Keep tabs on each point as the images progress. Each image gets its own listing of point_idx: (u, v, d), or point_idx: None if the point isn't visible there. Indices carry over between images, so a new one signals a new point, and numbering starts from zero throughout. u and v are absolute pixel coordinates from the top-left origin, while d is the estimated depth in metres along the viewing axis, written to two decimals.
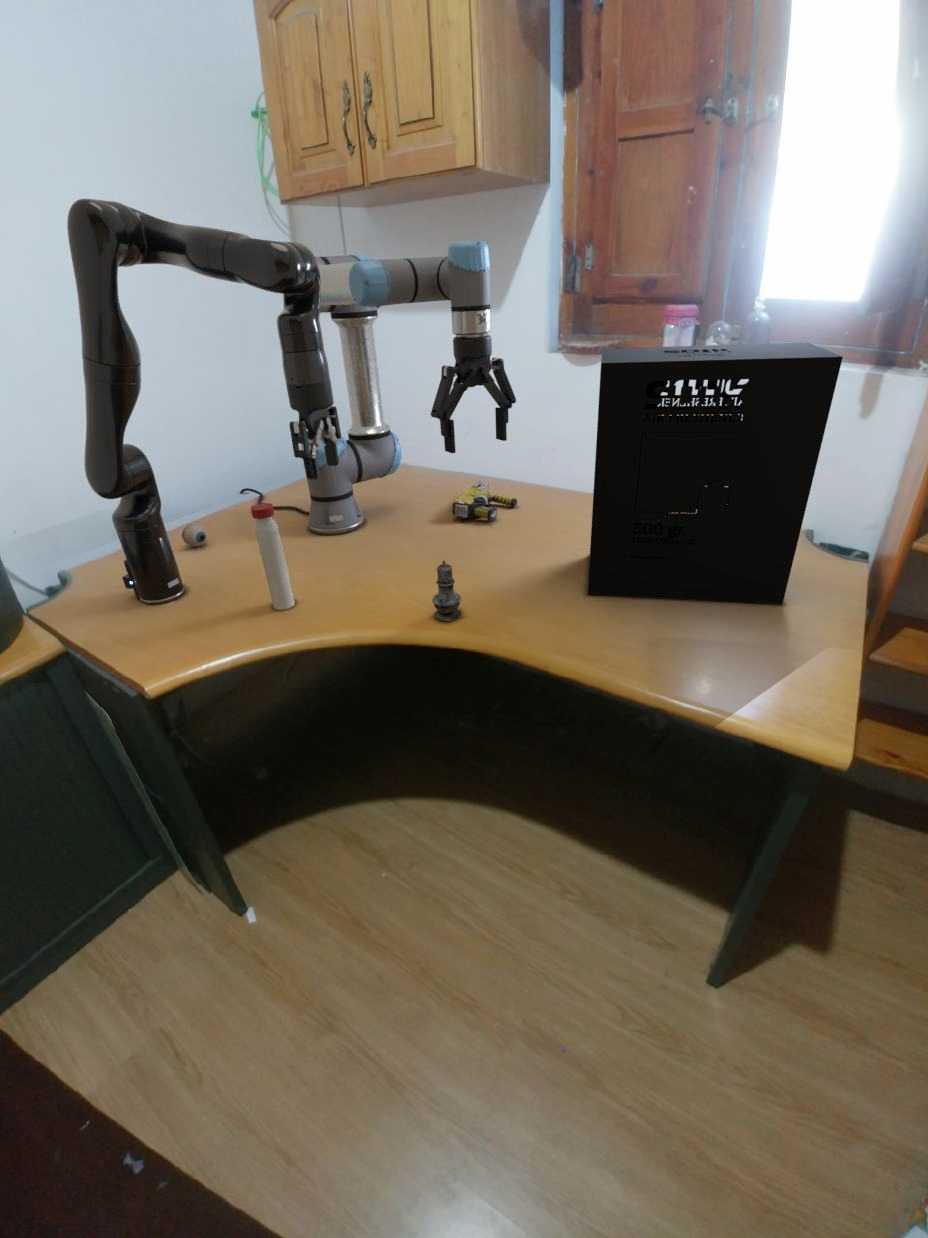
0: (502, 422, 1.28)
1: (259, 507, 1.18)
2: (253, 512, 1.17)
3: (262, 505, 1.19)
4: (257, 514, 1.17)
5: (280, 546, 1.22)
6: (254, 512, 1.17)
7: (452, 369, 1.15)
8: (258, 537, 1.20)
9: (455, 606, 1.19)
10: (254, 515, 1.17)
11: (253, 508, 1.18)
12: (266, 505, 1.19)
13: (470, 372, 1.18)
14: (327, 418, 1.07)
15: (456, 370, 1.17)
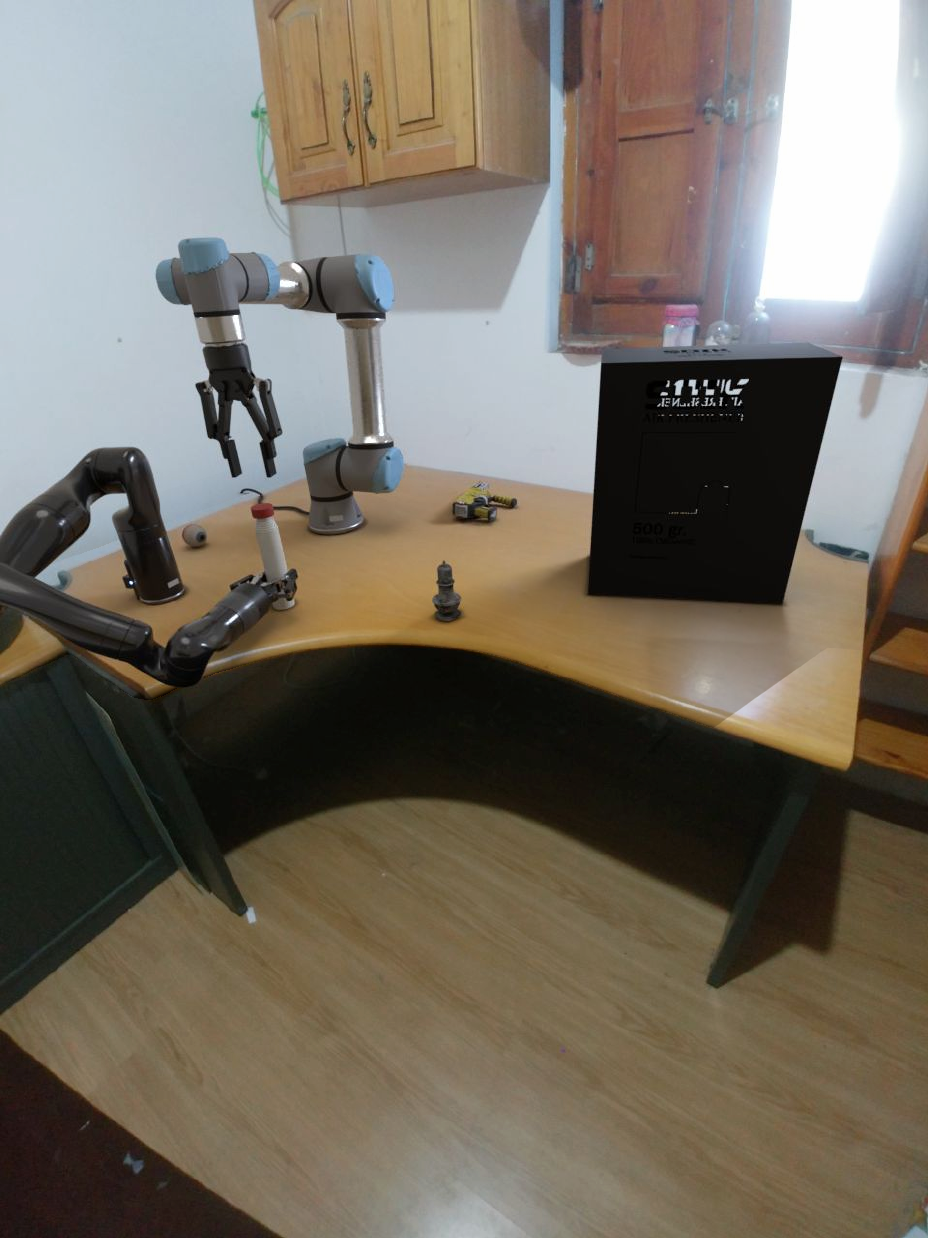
0: (236, 454, 1.15)
1: (259, 507, 1.18)
2: (253, 512, 1.17)
3: (262, 505, 1.19)
4: (257, 514, 1.17)
5: (280, 546, 1.22)
6: (254, 512, 1.17)
7: None
8: (258, 537, 1.20)
9: (455, 606, 1.19)
10: (254, 515, 1.17)
11: (253, 508, 1.18)
12: (266, 505, 1.19)
13: None
14: None
15: None
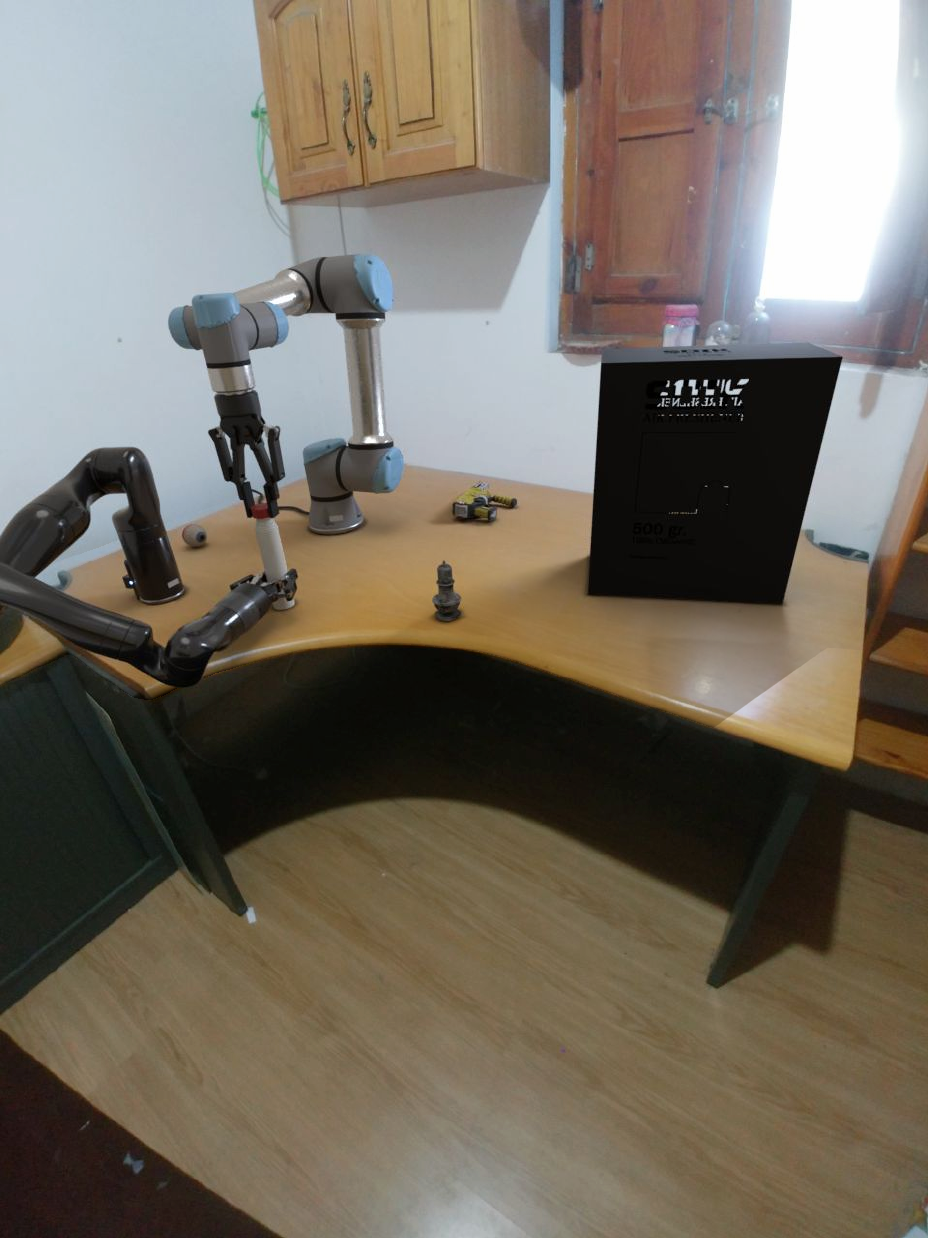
0: (252, 495, 1.19)
1: (259, 507, 1.18)
2: (253, 512, 1.17)
3: (262, 505, 1.19)
4: (257, 514, 1.17)
5: (280, 546, 1.22)
6: (254, 512, 1.17)
7: None
8: (258, 537, 1.20)
9: (455, 606, 1.19)
10: (254, 515, 1.17)
11: (253, 508, 1.18)
12: (266, 505, 1.19)
13: None
14: None
15: None
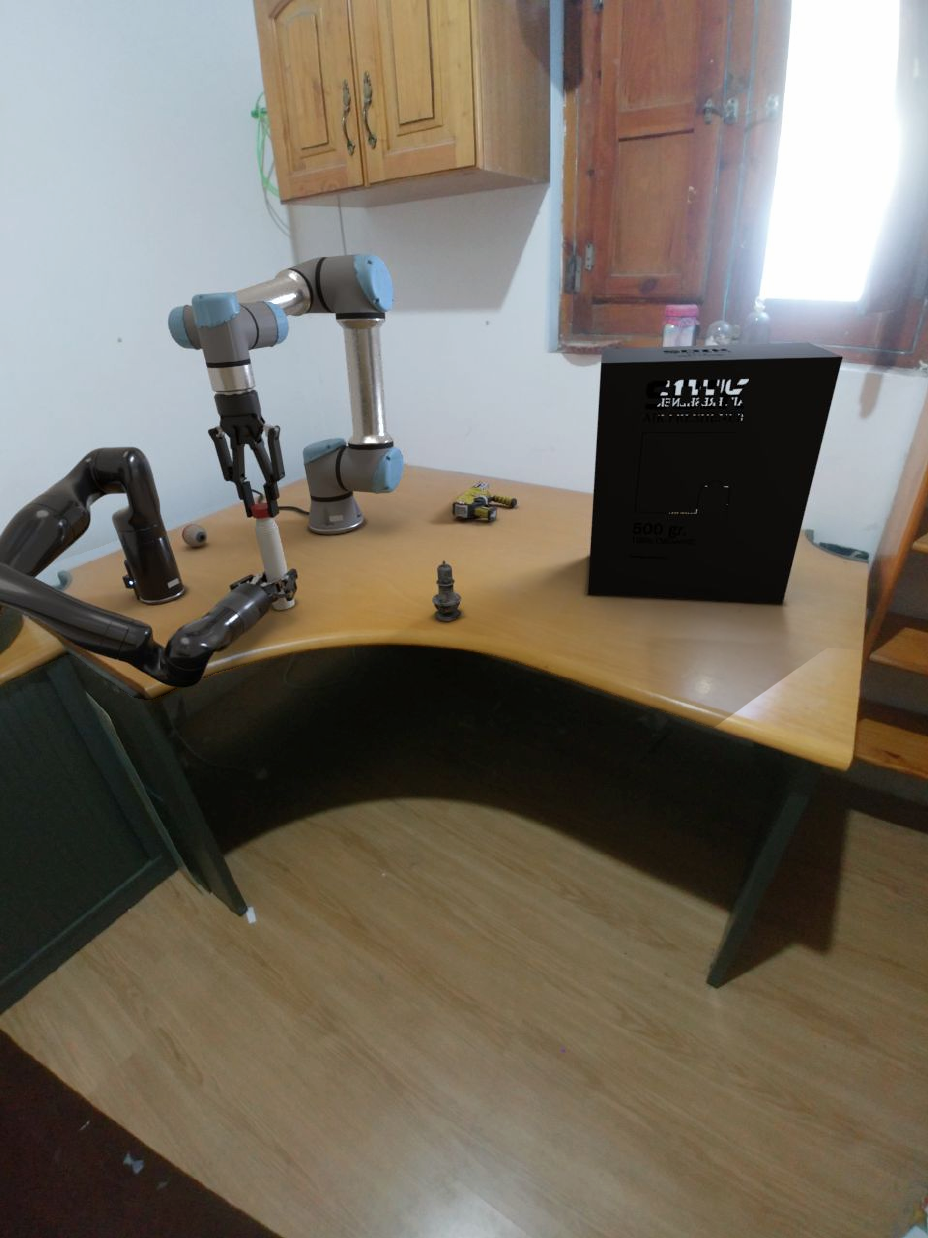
0: (251, 495, 1.19)
1: (263, 506, 1.18)
2: None
3: (258, 506, 1.18)
4: None
5: (280, 546, 1.22)
6: None
7: None
8: (258, 537, 1.20)
9: (455, 606, 1.19)
10: None
11: (264, 508, 1.17)
12: (260, 504, 1.19)
13: None
14: None
15: None
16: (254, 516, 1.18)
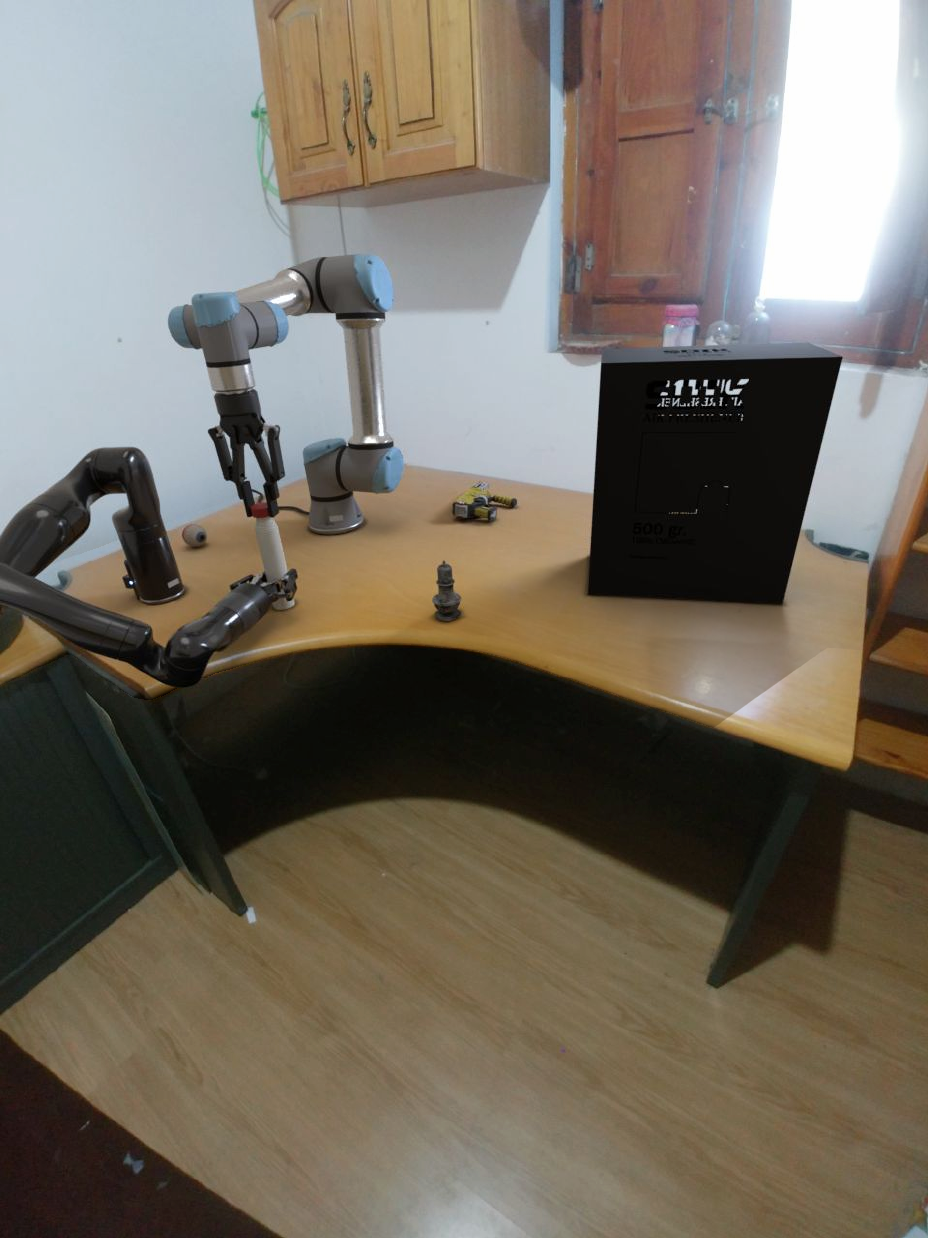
0: (251, 494, 1.18)
1: (263, 504, 1.19)
2: None
3: (260, 506, 1.18)
4: None
5: (280, 546, 1.22)
6: None
7: None
8: (258, 537, 1.20)
9: (455, 606, 1.19)
10: None
11: None
12: (256, 506, 1.18)
13: None
14: None
15: None
16: None
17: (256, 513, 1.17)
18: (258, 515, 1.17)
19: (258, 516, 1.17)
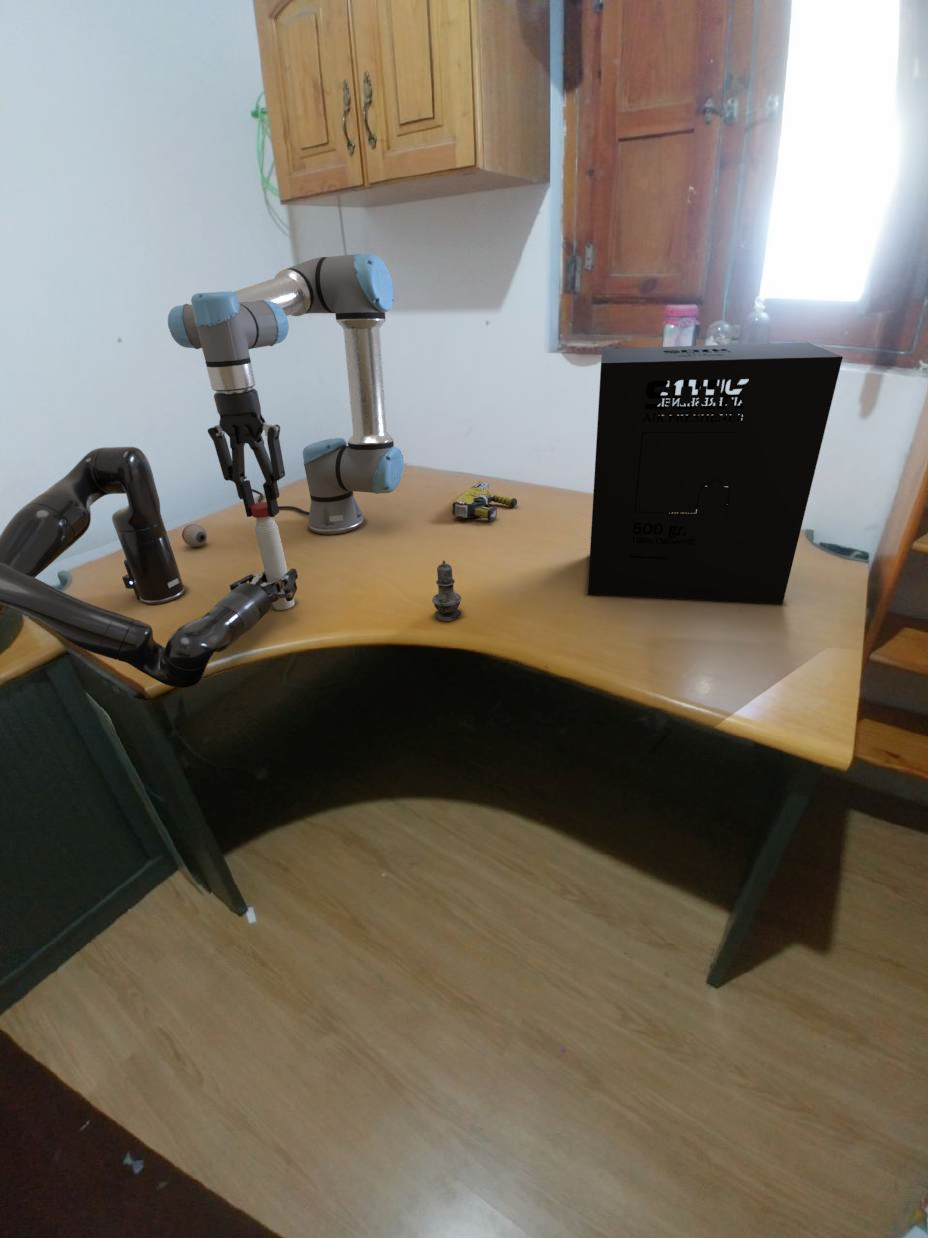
0: (251, 494, 1.18)
1: (259, 505, 1.18)
2: None
3: (263, 505, 1.18)
4: None
5: (280, 546, 1.22)
6: None
7: None
8: (258, 537, 1.20)
9: (455, 606, 1.19)
10: None
11: (258, 503, 1.19)
12: (261, 506, 1.17)
13: None
14: None
15: None
16: None
17: None
18: None
19: None
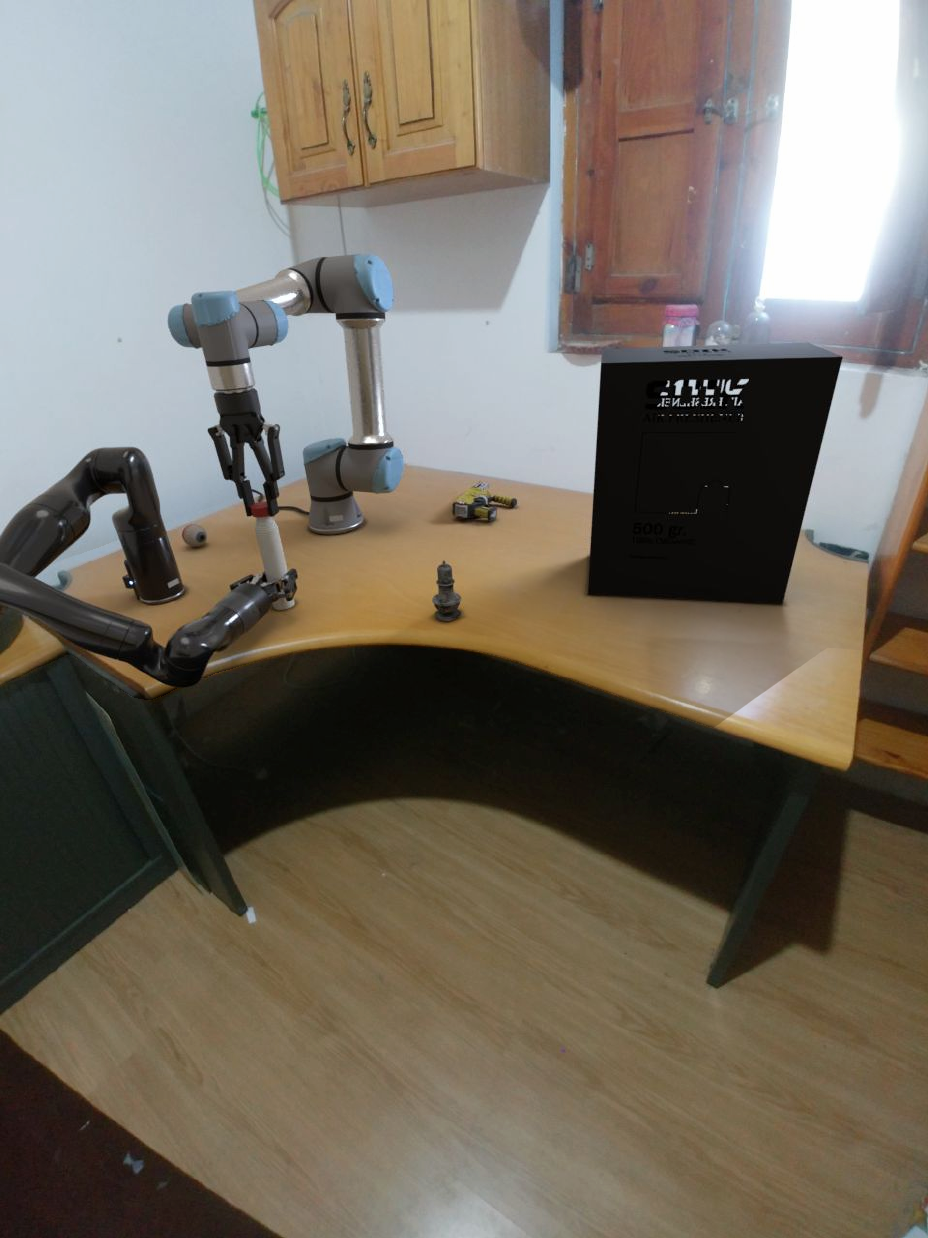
0: (251, 493, 1.18)
1: (258, 505, 1.18)
2: (252, 510, 1.17)
3: (262, 504, 1.19)
4: (256, 513, 1.17)
5: (280, 546, 1.22)
6: (253, 510, 1.17)
7: None
8: (258, 537, 1.20)
9: (455, 606, 1.19)
10: (253, 513, 1.17)
11: (252, 506, 1.18)
12: (266, 504, 1.18)
13: None
14: None
15: None
16: None
17: None
18: None
19: None
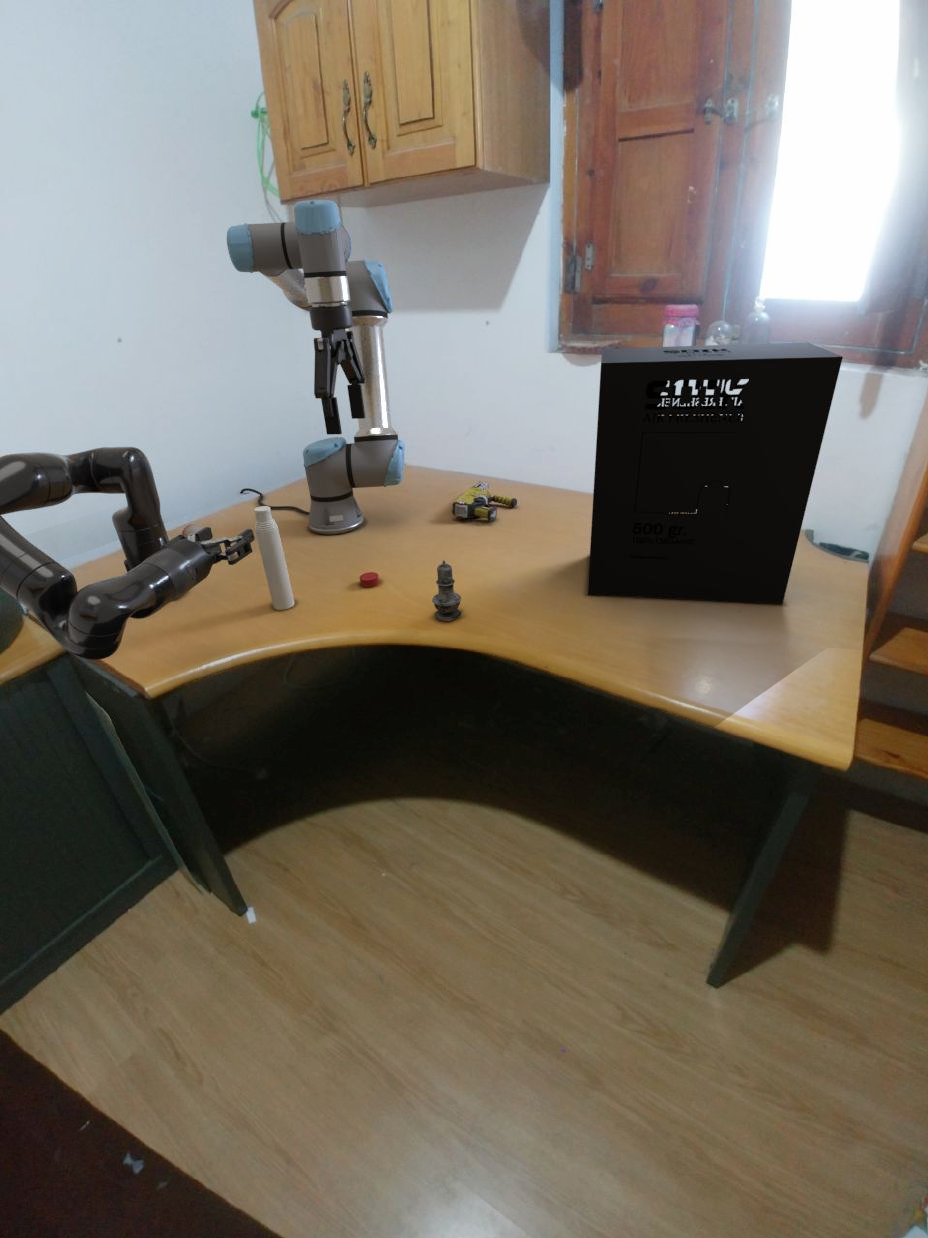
0: None
1: (371, 576, 1.35)
2: (375, 581, 1.35)
3: (366, 576, 1.36)
4: (377, 580, 1.35)
5: (280, 546, 1.22)
6: (376, 580, 1.35)
7: None
8: (258, 537, 1.20)
9: (455, 606, 1.19)
10: (375, 583, 1.35)
11: (371, 578, 1.34)
12: (368, 574, 1.36)
13: None
14: None
15: None
16: (362, 585, 1.35)
17: None
18: None
19: None
